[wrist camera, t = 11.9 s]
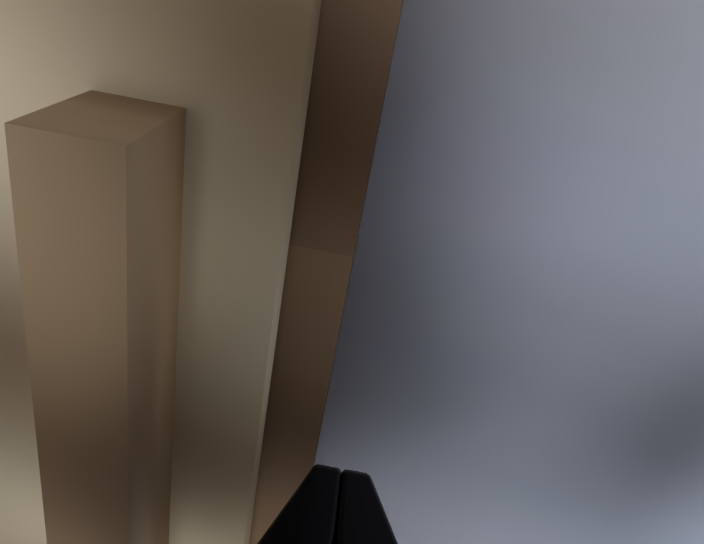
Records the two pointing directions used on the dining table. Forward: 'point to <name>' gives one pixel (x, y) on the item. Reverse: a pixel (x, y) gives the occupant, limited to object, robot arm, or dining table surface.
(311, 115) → the well board
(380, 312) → the dining table surface
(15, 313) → the sliding lid
